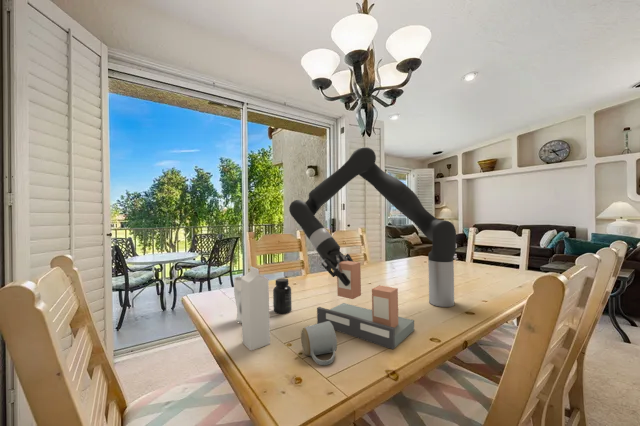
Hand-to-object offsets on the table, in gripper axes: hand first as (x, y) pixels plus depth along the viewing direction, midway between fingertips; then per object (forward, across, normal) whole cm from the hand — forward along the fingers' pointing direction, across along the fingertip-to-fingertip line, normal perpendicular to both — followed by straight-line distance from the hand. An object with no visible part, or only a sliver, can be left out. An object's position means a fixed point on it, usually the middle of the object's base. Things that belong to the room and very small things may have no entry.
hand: (353, 282), depth 89 cm
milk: (-1, -28, +21) cm, 35 cm away
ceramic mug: (+13, -21, +8) cm, 25 cm away
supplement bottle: (-10, -6, +30) cm, 33 cm away
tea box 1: (+2, 0, +4) cm, 5 cm away
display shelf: (+12, +2, +8) cm, 15 cm away
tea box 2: (+16, 0, 0) cm, 16 cm away
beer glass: (-13, -20, +33) cm, 41 cm away
